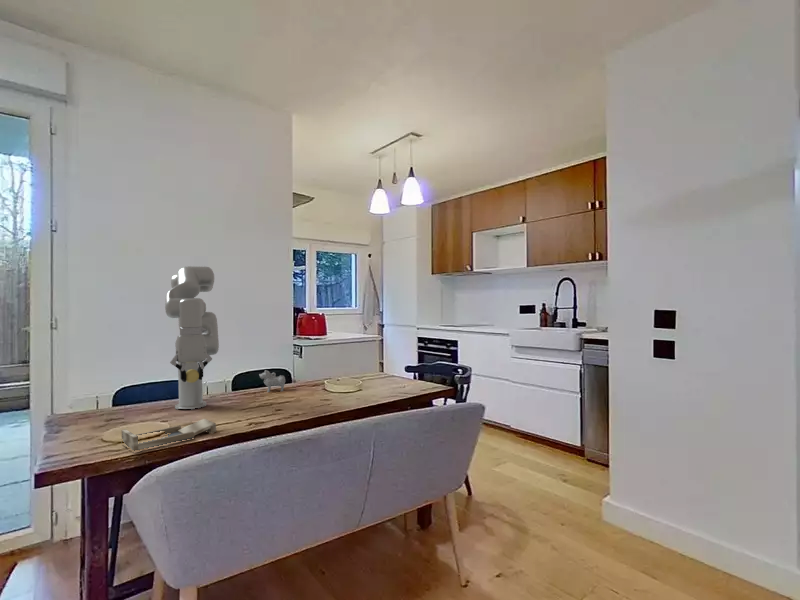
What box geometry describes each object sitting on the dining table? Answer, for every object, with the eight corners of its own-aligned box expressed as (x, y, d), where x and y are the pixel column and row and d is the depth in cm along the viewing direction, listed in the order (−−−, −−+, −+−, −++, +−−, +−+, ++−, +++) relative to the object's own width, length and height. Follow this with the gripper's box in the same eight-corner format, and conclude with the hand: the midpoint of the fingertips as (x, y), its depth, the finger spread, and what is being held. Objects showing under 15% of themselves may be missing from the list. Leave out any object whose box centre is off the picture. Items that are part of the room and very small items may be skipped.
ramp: (205, 427, 172) (204, 418, 172) (216, 432, 166) (216, 423, 166) (177, 433, 165) (177, 424, 165) (187, 439, 159) (187, 429, 159)
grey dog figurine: (260, 390, 237) (259, 369, 237) (285, 389, 239) (285, 368, 239) (258, 392, 232) (258, 371, 232) (285, 391, 234) (284, 370, 234)
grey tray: (121, 445, 154) (121, 430, 154) (179, 432, 167) (179, 418, 167) (134, 453, 145) (133, 437, 145) (194, 439, 159) (193, 424, 159)
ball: (183, 382, 175) (182, 369, 175) (197, 380, 178) (196, 367, 178) (186, 384, 171) (186, 370, 171) (201, 382, 174) (200, 369, 174)
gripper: (211, 329, 182) (212, 376, 183) (163, 332, 172) (164, 382, 172) (217, 331, 177) (218, 378, 177) (168, 334, 166) (169, 384, 166)
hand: (192, 379), depth 174 cm, fingers closed on ball, 4 cm apart
